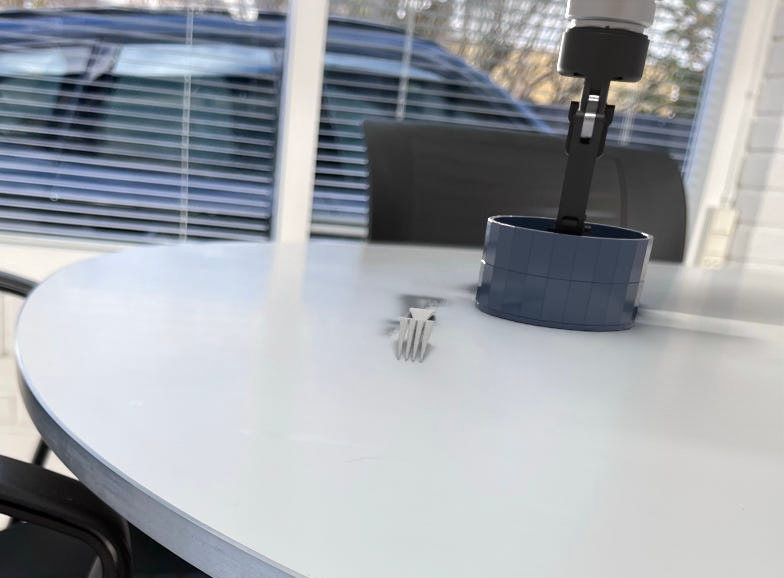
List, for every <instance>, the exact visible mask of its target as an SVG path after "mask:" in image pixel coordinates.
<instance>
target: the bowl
mask: <svg viewBox="0 0 784 578" xmlns="http://www.w3.org/2000/svg"><path fill="white" fill-rule="evenodd" d="M555 219H556V218H551V217H542V216H541V217H540V216H528V215H527V216H525V215H495V216H490V217H488V218H487V224H486V229H485V237H484V243H483V248H482V249H483V250H482V254H481V255H482V256H481V261H480V268H479V274H478V281H477V288H476V293H475V302H474V303H475V304H474V305H475V308H477V309H478V310H480V311H481V312H484V313H486V314H488V315H491V316H494V317H498V318H501V319H505V320H508V321H513V322H517V323H522V324H526V325H527V324H528V325H533V326H540V327H546V328H552V329H554V328H555V329H562V330H563V329H564V330H572V331H584V330H586V331H588V332H614V331H616V330H617V331H625V330H628V329H631V328H632V327H634V325H635V322H636V320H637V315H638V310H639V307H640V301H641V298H642V297H641V296H642V293H643V288H644V284H645V280H646V274H647V270H648V265H649V262H650V257H651V253H652V248H653V244H654V239H655V238H654V236H653V235H652V234H649V233H646V232H643V231H640V230H636V229H630V228H625V227H620V226H615V225H609V224H602V223H595V222H587V221H585V222H584V223H585V225H586V226H591V229H590V234H586V233H583V234H582V235H583V236H576V235H568V234H559V233H552V232H547V227H553V228H554V223H555Z"/></svg>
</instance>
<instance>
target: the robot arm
mask: <svg viewBox="0 0 784 578" xmlns="http://www.w3.org/2000/svg"><path fill="white" fill-rule="evenodd" d="M567 1H568V2H567V5H566V6H567V7H566V13H565V18H566V20H567V21H568V22H570V27H567V28H566V29H565V31H563V33H562V38H561V42H560V43H561V44H560V47H559V48H560V50H559V54H558V60H557V66H556V71H557V73H558V74H559V75H560V76H562V77H567V78H574V79H584V80H583V85H582V89H581V93H580V94H581V96H580V99H579V101H577V100H570V103H569V110H568V115H567V121H568V123H569V125H568V130H567V135H566V141H565V146H564V152H565V154H566V155H567V161H566V165H565V170H564V171H565V172H564V178H563V182H562V188H561V194H560V199H559V205H558V210H557V215H556V216H557V217H556V218H554V219H555V223H554V228H553V227H547V232H552V233H559V234H568V235H576V236H583V235H582V234H583V233H586V234H590V229H591V226H586V225H585V223H584V222H587V214H586V213H587V207H588V204H589V198H590V193H591V187H592V183H593V179H594V178H593V177H594V172H595V167H596V162H597V160H598V159H600V158H601V157H602V156H603V155H604V151H605V146H606V140H607V135H608V131H609V128H610V127H611V126H612V124H613V120H614V115H615V111H616V106H617V105H616V104H608V97H609V92H610V86H611V82H616V83H628V84H629V83H631V84H634V83H637V82H638V83H639V82H640V81H641V80H642V79H643V77H644V72H645V68H646V67H645V66H646V61H647V58H648V52H649V49H650V44H651V39H649V35H648V34H644V31H645V29H649V28H650V27H652V26H653V25H654V19H655V15H656V10H657V4H656V2H655V1H656V0H567ZM658 1H659V2H663V1H664V0H658Z"/></svg>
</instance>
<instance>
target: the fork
mask: <svg viewBox="0 0 784 578" xmlns="http://www.w3.org/2000/svg"><path fill="white" fill-rule="evenodd" d="M409 312H410V314H411V317H404V316H400V317H399V329H398V331H399V332H398V341H397V342H398V343H397V344H398V345H397V360H400V359H401V355H402V350H403V345H404V341H405V337H406V332H407V338H406V347H405V361H408V358H409V354H410V352H411V351H410V350H411V346H412V343H413V349H412V358H411V359H412V362H414V361H415V358H416V355H417V352H418V348H419V345H420V340H421V336H422V342H421V350H420V358H419V362H420V363H422V362H423V359H424V356H425V353H426V349H427V347H428V343H429V340H430V337H431V334H432V330H433V327H434V324H435V323H436V321H435V320H430V318H431V317H432V316H434V315H435V314H436V313H437V311H436V310H435V309H426V308H417V307H409ZM407 328H408V329H407ZM422 332H423V335H422ZM414 333H415V335H414ZM413 338H414V341H413Z"/></svg>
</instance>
